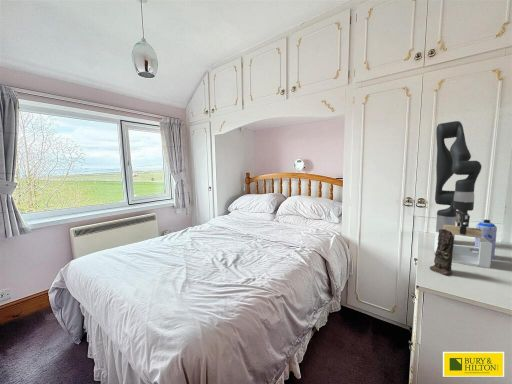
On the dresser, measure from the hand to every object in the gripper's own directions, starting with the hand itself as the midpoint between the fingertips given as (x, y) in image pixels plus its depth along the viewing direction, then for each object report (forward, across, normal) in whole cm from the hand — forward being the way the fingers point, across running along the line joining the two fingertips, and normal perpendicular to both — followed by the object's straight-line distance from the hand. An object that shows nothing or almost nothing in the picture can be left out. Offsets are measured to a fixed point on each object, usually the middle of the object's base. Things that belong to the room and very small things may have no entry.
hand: (461, 232), depth 111 cm
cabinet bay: (+14, 0, 0) cm, 14 cm away
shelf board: (+1, 0, 0) cm, 1 cm away
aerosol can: (+15, -12, +12) cm, 22 cm away
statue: (+15, +20, -10) cm, 27 cm away
